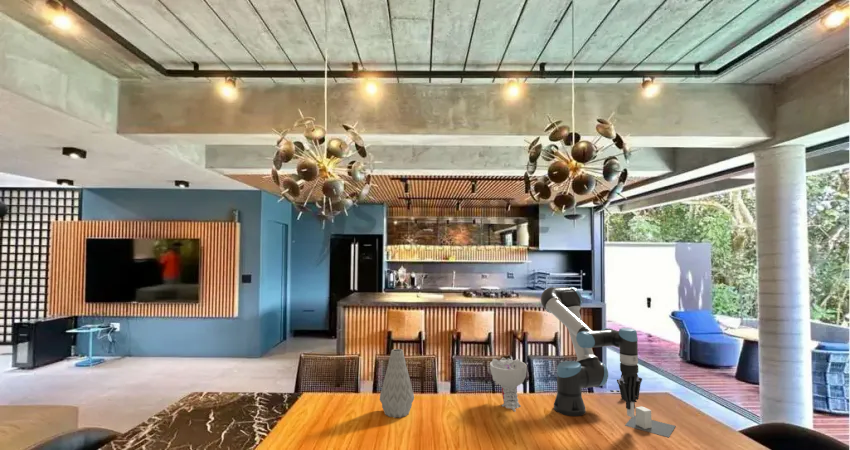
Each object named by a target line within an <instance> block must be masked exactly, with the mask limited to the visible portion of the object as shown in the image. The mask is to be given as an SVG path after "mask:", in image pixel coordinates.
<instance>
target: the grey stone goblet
mask: <svg viewBox="0 0 850 450" xmlns="http://www.w3.org/2000/svg"><path fill="white" fill-rule="evenodd" d="M489 367H490V368H489V369H490V370H489V371H490V374H491V376H492V380H493V382H495V385H496V386H498V385H499V386H501V395H502V400H503V403H502V405H501V407H502V408H503V407H504V408H506V409H511V410H512V411H513V412H515V413H516V412H517V409H519V408H520V407H522V406H521V404H520V402H519V398H518V396H519V395H518V387H519V386H520V385H522V384H523V383H524V381H525V379H526V376H527V371H528V365H527V364H526V363H525V362H523V361H521V360H520V358H516V359H514V360H513V359H511V358H507V359H506V358H505V357H502V358H500V359H496V358H492V361H490V363H489Z"/></svg>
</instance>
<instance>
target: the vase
mask: <svg viewBox="0 0 850 450" xmlns="http://www.w3.org/2000/svg"><path fill="white" fill-rule="evenodd" d="M405 358H406V357H405V354H404V350H403V349H401V348H400V349H399V348H395V349H394V348H393V349H391V350H390V355H389V359H388V364H387V368H386V372H385V374H384V380H383V384H382V388H381V391H380V393H379V401H380V403H381V407H382V410H383V412H384V415H385V416H387V417H389V418H394V419H395V418H400V419H401V418H403V417H406V416H407V415H409V414H410V411H411V409H412V405H413V404H412V403H413V401H414V400H415V395H414V390H413V386H412V383H411V378H410V374H409V371H408V367H407V361H406V359H405Z"/></svg>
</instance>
